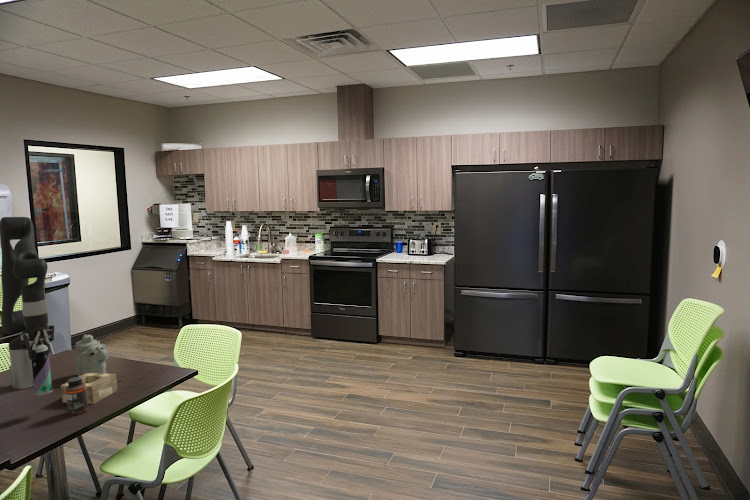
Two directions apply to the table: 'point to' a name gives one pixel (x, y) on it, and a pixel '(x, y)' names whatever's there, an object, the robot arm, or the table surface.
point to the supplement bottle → (76, 396)
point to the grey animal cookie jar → (91, 356)
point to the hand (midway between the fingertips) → (39, 356)
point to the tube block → (95, 386)
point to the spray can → (41, 370)
